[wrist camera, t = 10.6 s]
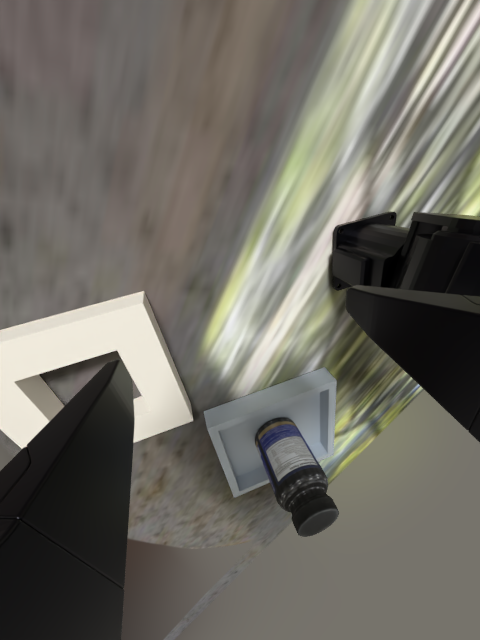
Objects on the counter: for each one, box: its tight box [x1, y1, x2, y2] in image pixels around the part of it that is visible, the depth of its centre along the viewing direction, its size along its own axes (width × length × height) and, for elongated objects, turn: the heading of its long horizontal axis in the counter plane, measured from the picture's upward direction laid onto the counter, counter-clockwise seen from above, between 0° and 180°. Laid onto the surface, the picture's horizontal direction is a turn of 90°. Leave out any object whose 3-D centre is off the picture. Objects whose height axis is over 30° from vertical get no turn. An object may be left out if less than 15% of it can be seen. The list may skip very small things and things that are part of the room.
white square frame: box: [0, 291, 193, 449], centre depth 22 cm, size 14×14×2 cm
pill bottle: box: [255, 417, 339, 537], centre depth 29 cm, size 6×6×11 cm
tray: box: [204, 367, 337, 498], centre depth 33 cm, size 16×16×2 cm
